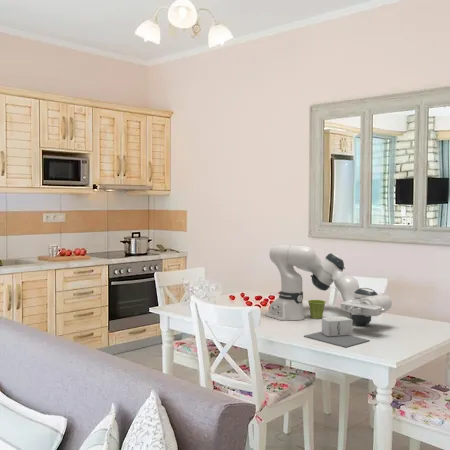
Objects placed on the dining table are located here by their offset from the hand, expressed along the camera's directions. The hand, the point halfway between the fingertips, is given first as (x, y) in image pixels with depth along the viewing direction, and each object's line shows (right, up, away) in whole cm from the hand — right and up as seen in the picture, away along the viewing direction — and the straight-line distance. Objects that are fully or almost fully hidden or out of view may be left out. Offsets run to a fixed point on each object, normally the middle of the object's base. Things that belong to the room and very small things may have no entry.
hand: (350, 311), depth 256 cm
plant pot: (-9, -10, +39) cm, 41 cm away
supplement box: (0, -7, +2) cm, 8 cm away
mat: (-8, -12, -6) cm, 15 cm away
